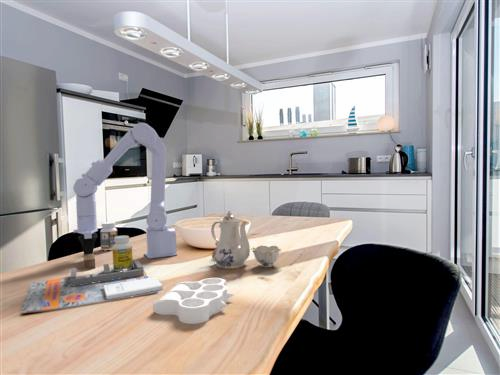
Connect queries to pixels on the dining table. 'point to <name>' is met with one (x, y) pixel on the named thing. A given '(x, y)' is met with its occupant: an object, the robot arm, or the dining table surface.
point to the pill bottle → (108, 235)
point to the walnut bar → (89, 261)
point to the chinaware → (238, 246)
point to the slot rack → (106, 274)
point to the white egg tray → (194, 300)
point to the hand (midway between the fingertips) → (88, 257)
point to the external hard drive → (132, 287)
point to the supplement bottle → (122, 254)
